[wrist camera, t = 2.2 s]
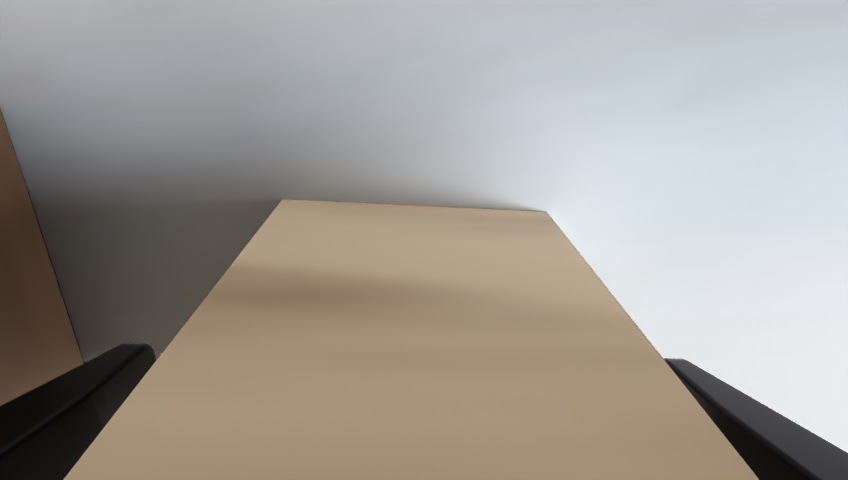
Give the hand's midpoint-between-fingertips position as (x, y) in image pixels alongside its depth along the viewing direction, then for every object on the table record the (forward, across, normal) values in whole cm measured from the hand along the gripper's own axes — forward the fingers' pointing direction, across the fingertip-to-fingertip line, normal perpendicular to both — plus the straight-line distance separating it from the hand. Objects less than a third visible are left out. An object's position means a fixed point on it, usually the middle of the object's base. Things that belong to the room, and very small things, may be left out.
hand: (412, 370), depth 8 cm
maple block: (+2, 0, 0) cm, 2 cm away
